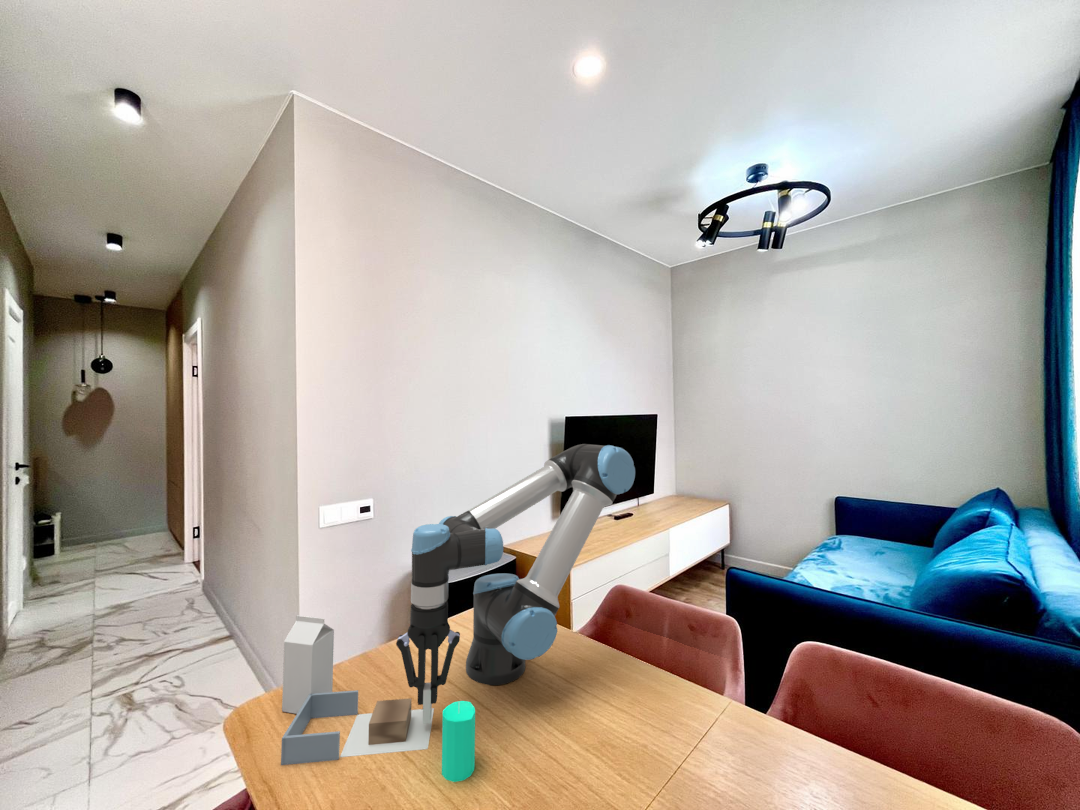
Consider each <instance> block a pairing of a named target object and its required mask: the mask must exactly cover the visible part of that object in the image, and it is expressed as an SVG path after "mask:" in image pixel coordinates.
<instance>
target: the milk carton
mask: <svg viewBox="0 0 1080 810" xmlns="http://www.w3.org/2000/svg"><path fill="white" fill-rule="evenodd" d="M334 639H335V629H333V628H332V627H330V626H329V625H328V624H326V623H325V618H322V617H315V616H307V615H306V616H304V615H296V617H295V622H294V624H293V625H292V627H291V629H290V630H289V632H288V634H287V635H286V637H285V639H284V640H283V663H282V664H283V665H282V667H283V668H282V669H283V671H282V696H281V697H282V699H281V700H282V702H281V710H282V712H284V713H290V714H296V715H297V713H298V712H299V710H300V708H301V707H302V705H303V704H304V702H305V700H306V699H307V697H308V696H309V694H314V693H328V692H333V685H334V684H333V680H334V678H333V676H334V649H335V648H334V646H335V645H334V643H335V642H334Z"/></svg>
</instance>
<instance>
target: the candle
mask: <svg viewBox="0 0 1080 810" xmlns="http://www.w3.org/2000/svg"><path fill="white" fill-rule="evenodd" d="M441 721H442V722H441V723H442V725H441V726H442V730H441V731H442V733H441V734H442V736H441V775H442V777H443V778H444V779H445V780H446V781H450V782H453V783H457V782H462V781H465V780H466V779H468V778H469V777H471V776H472V775H473V773H474V771H475V762H476V760H475V759H476V756H475V755H476V753H475V752H476V748H475V747H476V707H475V706H474V705H473V704H472V702H471V701H467V700H459V701H454V702H452V703H450V704H448V705H447V706H446V707H445V708H444V709H443V710H442V720H441Z"/></svg>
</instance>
